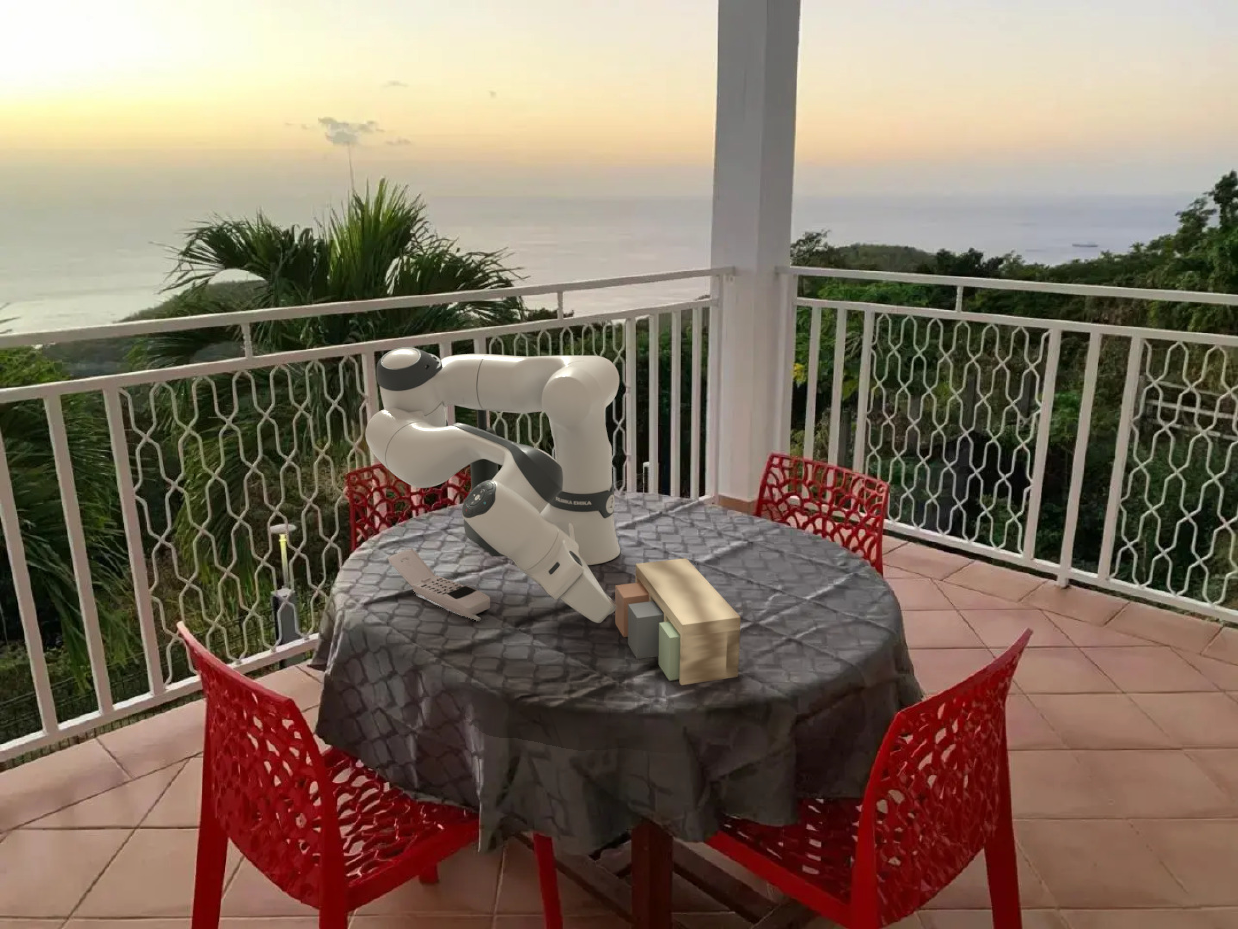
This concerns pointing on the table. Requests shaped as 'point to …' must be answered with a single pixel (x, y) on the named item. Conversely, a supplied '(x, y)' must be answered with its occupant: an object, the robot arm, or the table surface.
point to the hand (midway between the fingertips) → (611, 607)
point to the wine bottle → (483, 467)
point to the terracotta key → (627, 602)
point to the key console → (694, 619)
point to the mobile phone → (439, 586)
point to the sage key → (669, 650)
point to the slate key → (644, 628)
